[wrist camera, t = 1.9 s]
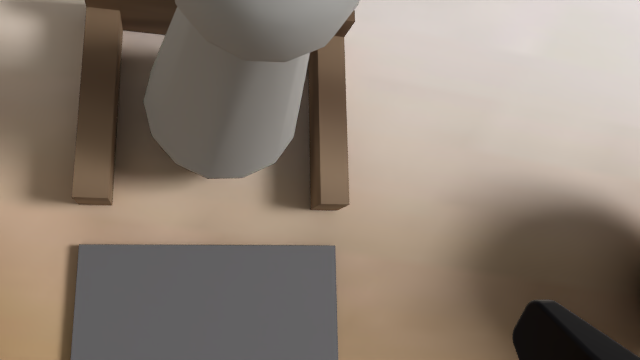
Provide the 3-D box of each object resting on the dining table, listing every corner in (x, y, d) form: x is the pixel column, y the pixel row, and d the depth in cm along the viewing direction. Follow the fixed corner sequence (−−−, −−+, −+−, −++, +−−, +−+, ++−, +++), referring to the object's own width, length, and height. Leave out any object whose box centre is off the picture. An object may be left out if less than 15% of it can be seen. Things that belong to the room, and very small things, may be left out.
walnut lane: (337, 210, 23) (361, 198, 20) (78, 204, 20) (64, 189, 17) (332, 32, 25) (353, -1, 22) (93, 4, 22) (83, -38, 19)
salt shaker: (304, 97, 24) (453, -110, 12) (254, 212, 22) (365, 112, 10) (182, 36, 23) (205, -260, 11) (120, 152, 21) (60, -42, 9)
